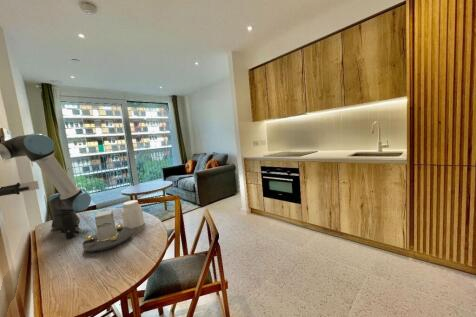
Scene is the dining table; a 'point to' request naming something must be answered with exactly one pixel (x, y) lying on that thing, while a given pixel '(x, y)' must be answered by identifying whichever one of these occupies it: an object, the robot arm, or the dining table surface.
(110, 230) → the supplement box
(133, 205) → the jar
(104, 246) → the base
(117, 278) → the dining table surface
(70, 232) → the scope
